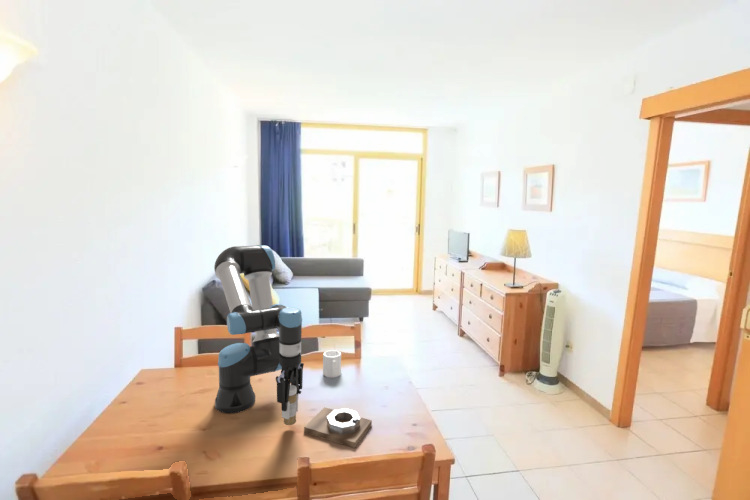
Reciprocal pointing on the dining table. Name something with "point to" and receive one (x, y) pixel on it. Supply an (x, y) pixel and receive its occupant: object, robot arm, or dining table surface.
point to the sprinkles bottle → (292, 406)
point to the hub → (343, 427)
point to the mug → (332, 363)
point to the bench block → (321, 430)
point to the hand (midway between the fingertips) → (290, 413)
